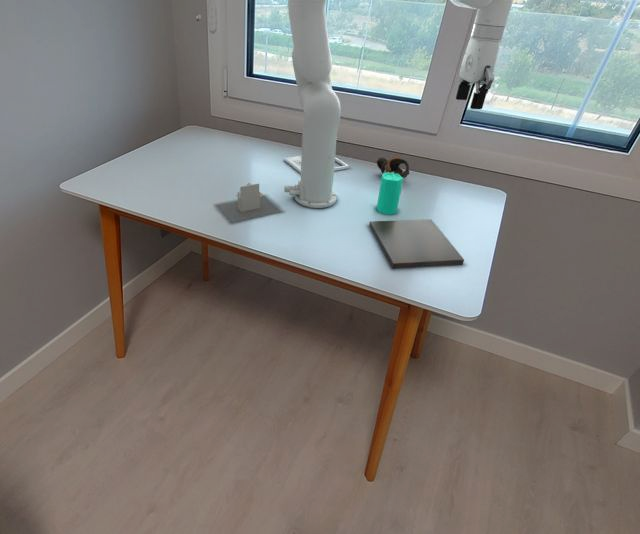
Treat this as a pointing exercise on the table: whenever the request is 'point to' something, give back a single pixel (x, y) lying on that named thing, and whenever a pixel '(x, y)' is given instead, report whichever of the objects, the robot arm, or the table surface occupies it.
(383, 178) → the candle
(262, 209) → the architectural model
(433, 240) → the serving board
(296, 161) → the photo frame
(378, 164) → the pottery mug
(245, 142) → the table surface
